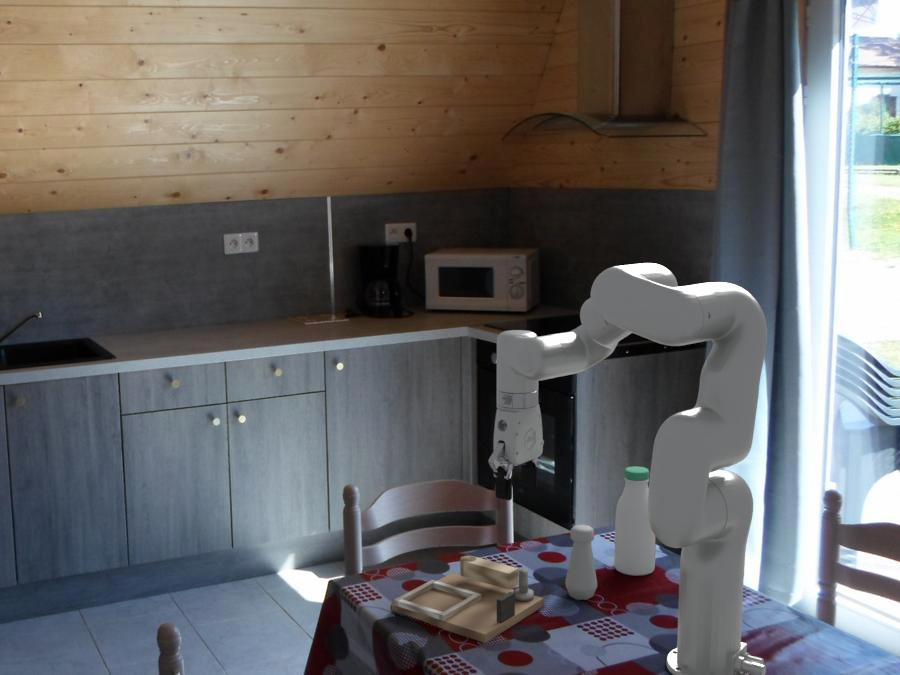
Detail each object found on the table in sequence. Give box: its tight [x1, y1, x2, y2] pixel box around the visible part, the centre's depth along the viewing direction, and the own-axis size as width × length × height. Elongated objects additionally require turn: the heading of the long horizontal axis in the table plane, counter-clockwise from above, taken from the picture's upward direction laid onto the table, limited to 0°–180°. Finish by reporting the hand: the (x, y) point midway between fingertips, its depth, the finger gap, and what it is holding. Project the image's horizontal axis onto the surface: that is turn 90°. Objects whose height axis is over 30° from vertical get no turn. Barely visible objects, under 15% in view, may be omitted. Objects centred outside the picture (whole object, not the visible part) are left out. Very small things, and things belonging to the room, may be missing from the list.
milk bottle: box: [613, 465, 657, 577], centre depth 203 cm, size 8×8×20 cm
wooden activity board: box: [391, 568, 545, 644], centre depth 186 cm, size 20×18×6 cm
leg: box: [459, 555, 520, 590], centre depth 192 cm, size 12×3×3 cm, turn 53°
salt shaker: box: [565, 524, 598, 601], centre depth 192 cm, size 6×6×13 cm
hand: (516, 492), depth 194 cm, fingers open, 7 cm apart
